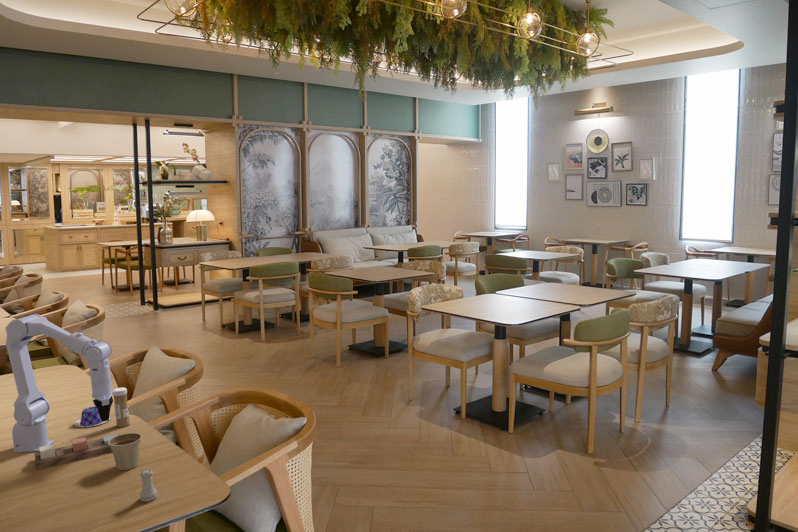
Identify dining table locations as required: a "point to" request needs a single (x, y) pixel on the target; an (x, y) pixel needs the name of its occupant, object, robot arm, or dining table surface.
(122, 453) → the flower pot
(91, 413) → the purple domed brimmed piece
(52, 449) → the white key
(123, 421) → the sprinkles bottle
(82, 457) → the board
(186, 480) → the dining table surface
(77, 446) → the brick key
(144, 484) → the rook chess piece
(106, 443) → the blue key
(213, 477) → the dining table surface
